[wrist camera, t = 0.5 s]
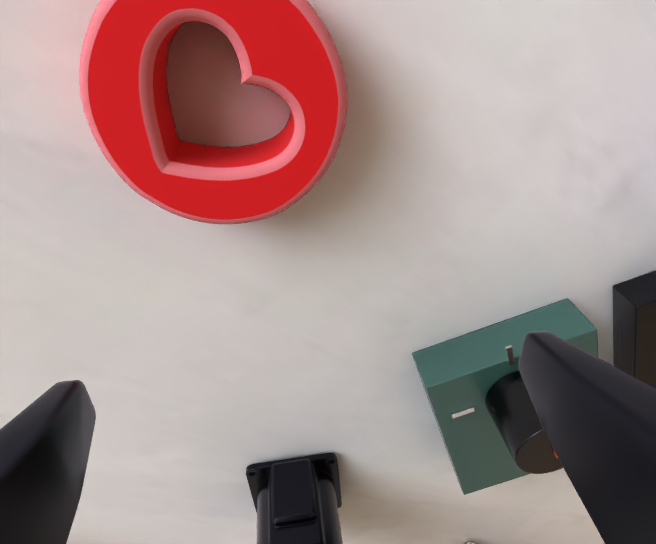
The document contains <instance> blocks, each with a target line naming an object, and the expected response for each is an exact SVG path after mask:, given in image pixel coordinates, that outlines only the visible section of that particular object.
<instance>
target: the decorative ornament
mask: <svg viewBox="0 0 656 544" xmlns="http://www.w3.org/2000/svg"><path fill="white" fill-rule="evenodd" d="M188 21H199V22H204V23H207V24H210V25H212V26H214V27H216V28H218V29H219V30H220V31H221V32H222V33H224V34H225V35H226V36H227V38H228V39H229V40H230V42H231V44H232V45H233V47H234V49H235V52H236V54H237V57H238V60H239V63H240V67H241V74H242V79H241V84H252V85H258V86H262V87H265V88H268V89H270V90H272V91H274V92H276V93H277V94H279V95H280V96H281V97H282V98H283V99H284V100H285V101H286V102H287V103H288V105H289V107H290V108H291V113H290V118H289V120H288V123H287V125H286V126H285V128H284V129H283V130H282V131H281V132H280V133H279V134H278V135H277V136H275V137H273V138H271V139H269V140H267V141H264V142H261V143H257V144H253V145H248V146H240V147H217V146H207V145H200V144H194V143H189V142H184V141H180V140H179V138H178V136H177V133H176V129H175V125H174V120H173V116H172V112H171V107H170V102H169V96H168V90H167V81H166V63H167V55H168V49H169V46H170V42H171V40H172V38H173V36H174V34H175V33H176V31H177V30H178V28H179V27H180V26H181V25H182V24H183V23H184V22H188ZM79 85H80V94H81V100H82V104H83V109H84V112H85V115H86V119H87V121H88V124H89V127H90V129H91V132H92V134H93V136H94V138H95V140H96V142H97V144H98V146H99V147H100V149H101V151H102V153H103V154H104V156H105V157H106V159H107V160H108V162H109V163H110V165H111V166H112V167H113V168H114V170H115V171H116V172H117V173H118V175H119V176H120V177H121V178H122V179H123V180H124V181H125V182H126V183H127V184H128V185H129V186H130V187H131V188H132V189H133V190H134V191H135V192H137V193H138V194H139V195H141V196H142V197H144V198H145V199H147V200H149V201H151V202H152V203H154V204H156V205H157V206H159V207H161V208H163V209H164V210H166V211H168V212H171V213H173V214H176V215H178V216H181V217H184V218H188V219H191V220H195V221H199V222H205V223H213V224H239V223H247V222H252V221H256V220H260V219H264V218H267V217H270V216H273V215H275V214H277V213H279V212H281V211H283V210H285V209H287V208H288V207H290V206H291V205H293V204H294V203H296V202H297V201H298V200H299V199H301V198H302V197H303V196H304V195H305V194H307V193H308V192H309V191H310V190H311V189H312V188H313V187H314V185H315V184H316V183H317V182H318V181H319V180H320V178H321V177H322V176H323V174H324V173H325V172H326V170H327V169H328V167H329V165H330V164H331V162H332V160H333V158H334V156H335V153H336V151H337V149H338V146H339V143H340V140H341V137H342V134H343V129H344V125H345V120H346V111H347V90H346V82H345V76H344V71H343V67H342V64H341V60H340V57H339V54H338V52H337V49H336V47H335V45H334V43H333V40H332V38H331V36H330V34H329V33H328V31H327V29H326V27H325V26H324V24H323V23H322V21H321V19H320V18H319V16H318V15H317V13H316V12H315V11H314V9H313V8H312V7H311V5H310V4H309V3H308V1H307V0H101V1H100V3H99V4H98V6H97V8H96V10H95V11H94V13H93V16H92V18H91V20H90V23H89V26H88V29H87V32H86V34H85V38H84V42H83V46H82V51H81V57H80V67H79Z"/></svg>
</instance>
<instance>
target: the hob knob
mask: <svg viewBox="0 0 656 544" xmlns="http://www.w3.org/2000/svg"><path fill="white" fill-rule="evenodd" d="M485 405H486V408H487V410H488V412H489V414H490V416H491V418H492V419H493V421H494V423H495V425H496V427H497V429H498V431H499V433H500V435H501V437H502V439H503V440H504V442H505V444H506V446H507V448H508V450H509V452H510V454H511V456H512V458H513V459H514V461H515V463H516V465H517V466H518V467H519V468H520V469H521V470H523V471H525V472H528V473H533V474H542V473H548V472H553V471H556V470H559V469H561V468H563V466H562V464H561V462H560V460H559V458H558V457H557V455H556V453H555V451H554V449H553V447H552V445H551V444H550V442H549V440H548V438H547V436H546V433H545V431H544V429H543V427H542V424H541V422H540V420H539V417H538V415H537V412H536V410H535V408H534V405H533V403H532V400H531V398H530V396H529V393H528V391H527V388H526V386H525V384H524V381H523V379H522V376H521V374H520V371H515V372H512V373H510V374H507V375H505V376H504V377H502V378H500V379H499V380H498V381H496V382H495V383H494V384H493V385H492V386H491V388H490V389H489V390H488V392H487V394H486V398H485Z"/></svg>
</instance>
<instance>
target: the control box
mask: <svg viewBox="0 0 656 544" xmlns="http://www.w3.org/2000/svg"><path fill="white" fill-rule="evenodd" d="M537 331H548V332H551V333H552V334H554V335H556V336H558V337H560V338H562V339H564V340H566V341H567V342H569V343H571V344H573V345H575V346H577V347H579V348H581V349H582V350H584V351H586V352H588V353H590V354H592V355H594V356H596V357H597V358H598V340H597V329H596V328H595V327H594V326H593V324H592V323H591V322H590V321H589V320H588V319H587V318H586V317H585V316H584V315H583V314H582V313H581V312H580V311H579V310H578V309H577V308H576V307H575V306H574V305H573V304H572V303H571V302H570V301H569V299H564V300H562V301H559V302H556V303H553V304H550V305H547V306H545V307H542V308H539V309H536V310H533V311H530V312H528V313H525V314H522V315H519V316H516V317H513V318H511V319H508V320H505V321H502V322H499V323H496V324H494V325H491V326H488V327H485V328H482V329H479V330H477V331H474V332H471V333H468V334H465V335H462V336H460V337H457V338H454V339H451V340H448V341H445V342H443V343H440V344H437V345H434V346H431V347H428V348H426V349H423V350H420V351H417V352H414V353H412V355H413V358H414V361H415V363H416V366H417V369H418V372H419V374H420V377H421V380H422V383H423V386H424V388H425V391H426V394H427V397H428V399H429V402H430V405H431V408H432V411H433V413H434V416H435V419H436V422H437V424H438V427H439V430H440V433H441V436H442V438H443V441H444V444H445V447H446V449H447V452H448V455H449V458H450V460H451V463H452V466H453V468H454V471H455V473H456V476H457V478H458V481H459V483H460V486H461V488H462V491H463V494H464V495H465V494H468V493H471V492H474V491H478V490H481V489H484V488H487V487H490V486H493V485H496V484H499V483H503V482H506V481H509V480H512V479H515V478H518V477H521V476H524V475H527V474H531V473H528V472H525V471H523V470H521V469H520V468H519V467H518V466H517V465H516V463H515V461H514V459H513V458H512V456H511V454H510V452H509V450H508V448H507V446H506V444H505V442H504V440H503V439H502V437H501V435H500V433H499V431H498V429H497V427H496V425H495V423H494V421H493V419H492V418H491V416H490V414H489V412H488V410H487V408H486V405H485V398H486V394H487V392H488V390H489V389H490V388H491V386H492V385H493V384H494V383H495V382H496V381H498V380H499V379H500V378H502V377H504V376H505V375H507V374H510V373H512V372H515V371H519V358H520V354H521V350H522V346H523V342H524V338H525V336H526V335H527V334H528V333H530V332H537Z"/></svg>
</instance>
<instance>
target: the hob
mask: <svg viewBox="0 0 656 544" xmlns="http://www.w3.org/2000/svg"><path fill="white" fill-rule="evenodd" d="M613 338H614V367H616V368H618V369H620V370H622V371H624V372H626V373H627V374H629V375H631V376H633V377H635V378H637V379H639V380H640V381H642V382H644V383H646V384H648V385H650V386H652V387H654V388H655V389H656V271H653V272H651V273H648V274H645V275H642V276H639V277H636V278H634V279H631V280H628V281H625V282H622V283H619V284H617V285H614V286H613Z"/></svg>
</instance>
